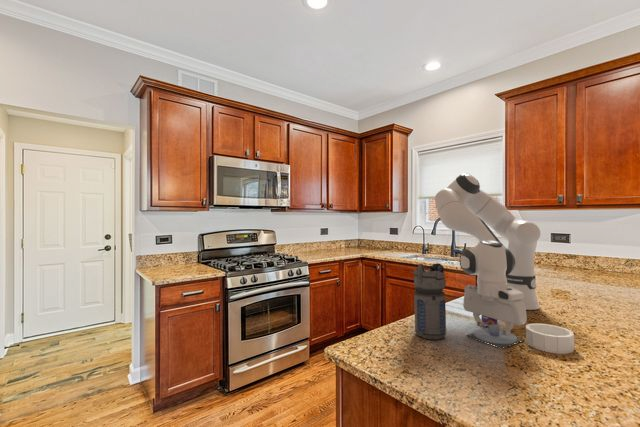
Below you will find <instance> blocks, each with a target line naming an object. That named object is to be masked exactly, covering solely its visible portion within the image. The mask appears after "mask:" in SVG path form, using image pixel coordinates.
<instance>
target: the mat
mask: <svg viewBox="0 0 640 427" xmlns="http://www.w3.org/2000/svg"><path fill="white" fill-rule="evenodd" d="M467 336H468V337H467ZM466 337H467V338H470V337H471V338H470V339H472V338H474V339H473V340H475V339H477V340H476V341H478V340H479V339H478V338H476V337H475V336H474V332H471V333H468V334H466ZM481 341H482V340H480V341H479V342H481ZM520 341H523V342H524V341H525V339H523V338H521V337H517V342H520ZM483 342H484V341H483ZM483 342H482V343H483ZM517 342H516V343H517ZM486 343H488V342H486ZM486 343H485V344H486ZM520 343H521V342H520ZM489 344H492V345H495V346H497V347H500V348H503V347H506V346H509V345H512V344H508V345H502V344H493V343H489ZM489 344H488V345H489ZM492 345H491V346H492ZM512 346H513V345H512ZM497 347H496V348H497ZM509 347H510V346H509ZM500 348H499V349H500ZM506 348H507V347H506ZM503 349H504V348H503Z"/></svg>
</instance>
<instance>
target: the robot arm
mask: <svg viewBox="0 0 640 427" xmlns="http://www.w3.org/2000/svg"><path fill="white" fill-rule="evenodd" d="M480 188H481V186H480V182H479V180H478V179H477V178H476V177H474V175H472V174H470V173H462V174H459V175H458V176H457V177H456V178H455V179H454V180H452V182H451V183H450V184H449V185H448V186H447V187H446V188H443V189H440V190H439V191H438V192H437V193H436V194H435V196H434V204H435V209H436V211H437V214H438V216H439V219H440V221H441V223H442V224H443V225H444V227H446V228H447V229H448V230H451V231H454V232H459V233H464V234H467V235H470V236H473V237H474V238H476V240H477V239H478V242H477V245H475V246H473V247H470V248H465V249H464V250H463V251H462V252H461V254H460V255H459V267H460V269H461V270H462V271H463V272H464V273H465V274H467V275H471V276H477V278H476V284H477V285H472V284H468V285H466V286H465V287H464V295H463V302H462V303H463V304H462V305H463V309H464V311H466V312H468V313H472V316H473V318H474V320H475V324H476V325H475V326H476V327H478V328H483V327H484V326H483V321H482V320H481V319H482V318H481V317H480V316H481V315H483V316H487V317H490V318H493V319H497V320H498V321H500V322H505V326H507V327H506V328H505V329H504V328H503V329H502V330H503V335H505V336H510V335H511V332H512V330H513V329H514V326H517V327H518V326H523V325H525V324H527V320H528V319H527V317H528V316H527V310H528V311H531V310H534V311H535V310H539V309H540V308H541V307H540V305H539V302H538V301H539V300H538V296H537V291H536V287H537V284H536V283H537V282H536V275H535V255H536V248H537V244H538V241H539V239H540V238H541V230H540V227H539V226H538V225H537V224H536V223H533V222H532V221H530V220H525V219H519V218H517V217H515V215H513V213H511V211H510V210H509V209H508V207H506V205H504V204H502V203H501V202H500V201H498V200H496V199H495V198H494V197H493V196H491V195H490V194H489V193H487V192H485V191H484V190H482V189H480ZM490 228H491V229H490ZM492 230H493V231H494V232H495V233H496V234H497V235H498V236H500V238H502V239H503V240H504V241H506V242H507V243H508V245H507V247H506V246H505V245H504V244H503V242H501V240H499V239H498V237H497V236H496V235H495V233H494V232H493V231H492Z"/></svg>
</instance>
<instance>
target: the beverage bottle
mask: <svg viewBox="0 0 640 427" xmlns="http://www.w3.org/2000/svg"><path fill="white" fill-rule="evenodd" d="M413 273H414V274H413V287H415V290H414V292H413V293H414V294H413V295H414V296H413V297H414V298H413V300H414V302H413V303H414V332H415V333H416V335H417V336H419V337H421V338H422V339H426V340H432V341H433V340H434V341H435V340H441V339H444V338H445V337H446V334H447V318H446V317H447V316H446V315H447V314H446V313H447V312H446V307H447V306H446V293H445V292H444V289H445V288H446V285H447V282H446V281H447V280H446V278H445V274H444V266H443V265H442V264H441V263H437V262H436V263H433V264H432V265H428V266H427V269H424V264H421V263H418V266H417V268H414V271H413Z"/></svg>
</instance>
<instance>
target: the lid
mask: <svg viewBox="0 0 640 427" xmlns="http://www.w3.org/2000/svg"><path fill="white" fill-rule="evenodd" d="M473 333H474V336H475V337H476V338H478V339H479V340H482V341H484V342H488V343H493V344H502V345H508V344H514V343H516V342H517V338H518V337H517V336H516V335H515V334H514V333H511V335H510V336H505V335H503V329H500V325H499V324H498V325H495V324H490V327H486V328H485V327H484V328H483V327H479V328H476V329H474V330H473Z"/></svg>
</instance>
